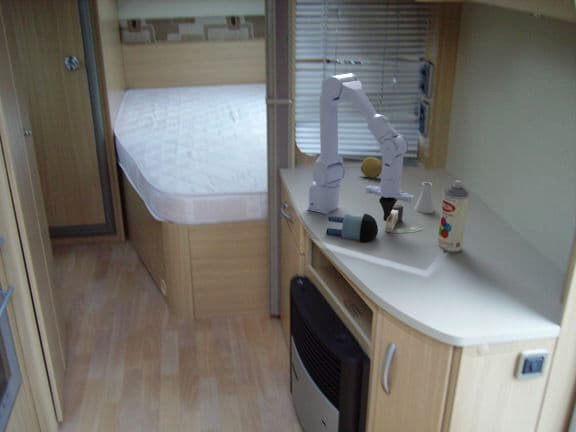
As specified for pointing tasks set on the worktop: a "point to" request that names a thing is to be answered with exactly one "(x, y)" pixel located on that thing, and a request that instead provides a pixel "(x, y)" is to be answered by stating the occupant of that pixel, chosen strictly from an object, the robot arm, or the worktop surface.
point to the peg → (394, 217)
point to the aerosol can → (453, 218)
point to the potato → (371, 167)
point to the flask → (425, 200)
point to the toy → (355, 227)
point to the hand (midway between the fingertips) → (387, 220)
